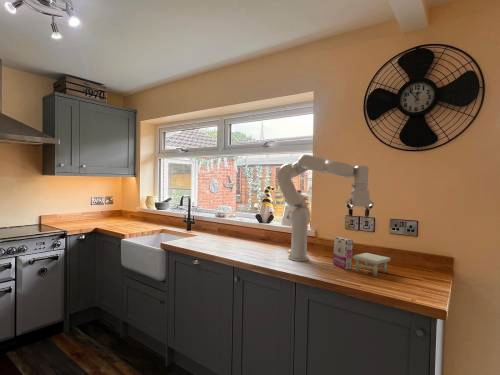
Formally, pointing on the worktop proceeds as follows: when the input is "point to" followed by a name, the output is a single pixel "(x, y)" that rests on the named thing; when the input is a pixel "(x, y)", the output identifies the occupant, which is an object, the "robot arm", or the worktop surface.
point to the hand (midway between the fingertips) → (358, 216)
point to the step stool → (371, 262)
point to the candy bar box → (343, 252)
